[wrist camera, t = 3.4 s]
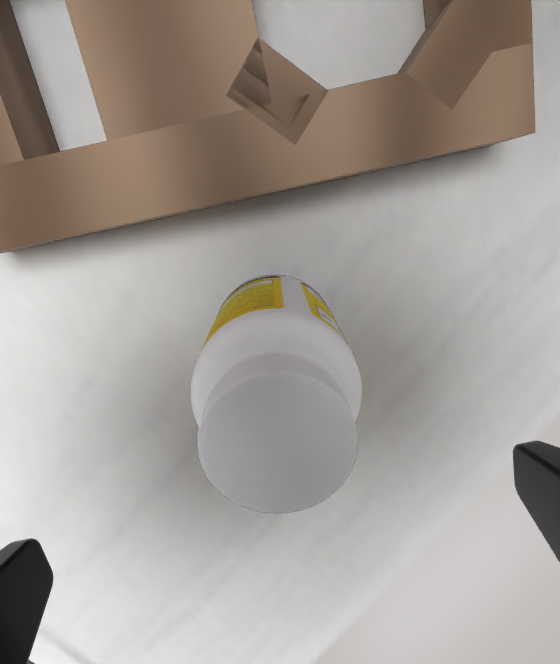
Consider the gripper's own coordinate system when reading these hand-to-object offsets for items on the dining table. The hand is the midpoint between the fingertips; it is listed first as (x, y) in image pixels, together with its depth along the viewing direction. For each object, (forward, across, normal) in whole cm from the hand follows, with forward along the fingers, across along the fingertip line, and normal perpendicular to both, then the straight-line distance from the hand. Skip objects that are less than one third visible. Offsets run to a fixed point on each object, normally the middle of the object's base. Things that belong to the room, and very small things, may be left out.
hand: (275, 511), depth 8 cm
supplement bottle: (+12, 0, 0) cm, 13 cm away
